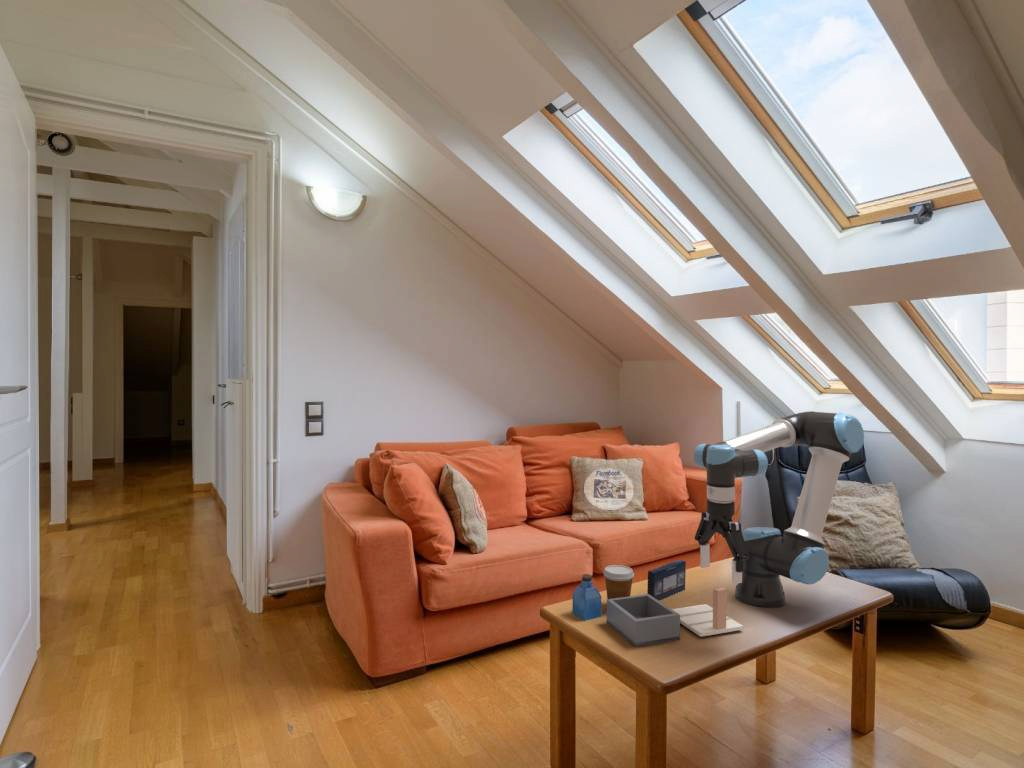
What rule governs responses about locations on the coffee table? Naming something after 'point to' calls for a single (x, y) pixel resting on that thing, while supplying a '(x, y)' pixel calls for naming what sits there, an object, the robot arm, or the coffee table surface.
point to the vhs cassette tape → (667, 580)
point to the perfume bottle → (586, 599)
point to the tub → (643, 620)
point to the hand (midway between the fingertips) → (720, 574)
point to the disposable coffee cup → (618, 581)
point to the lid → (709, 616)
